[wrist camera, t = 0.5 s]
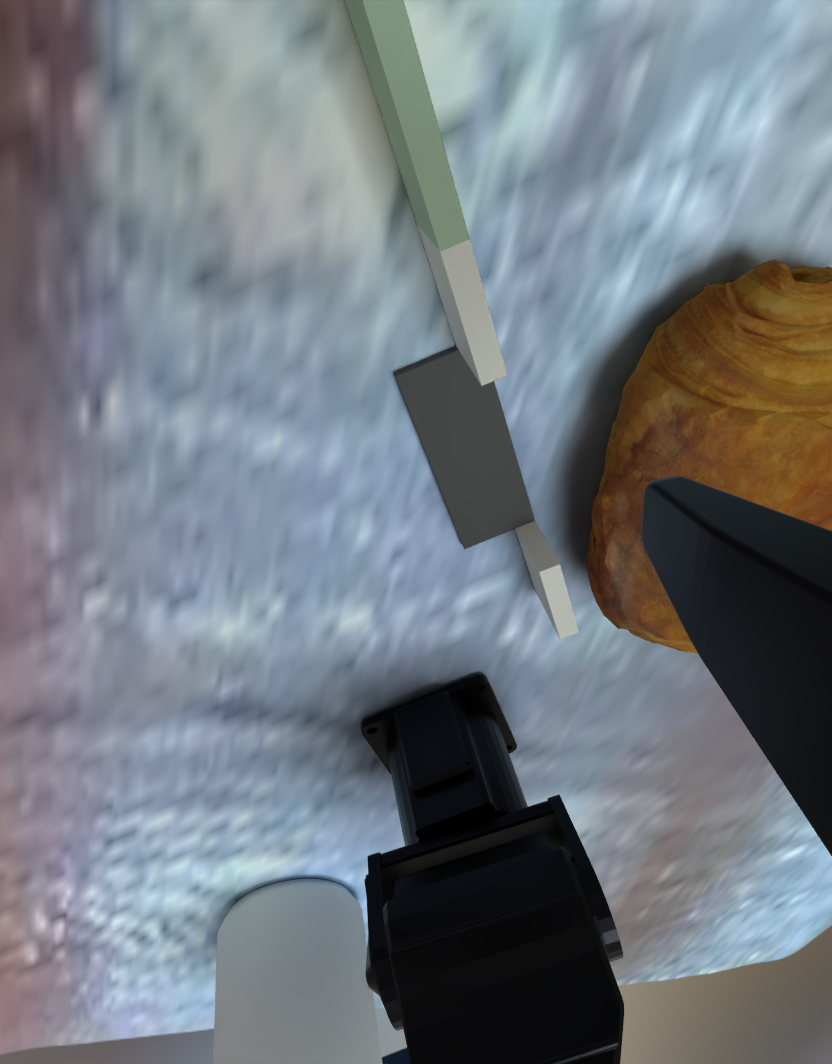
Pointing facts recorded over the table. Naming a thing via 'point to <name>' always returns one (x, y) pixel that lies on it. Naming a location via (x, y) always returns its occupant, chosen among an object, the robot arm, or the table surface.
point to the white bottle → (294, 979)
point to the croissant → (718, 426)
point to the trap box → (453, 322)
